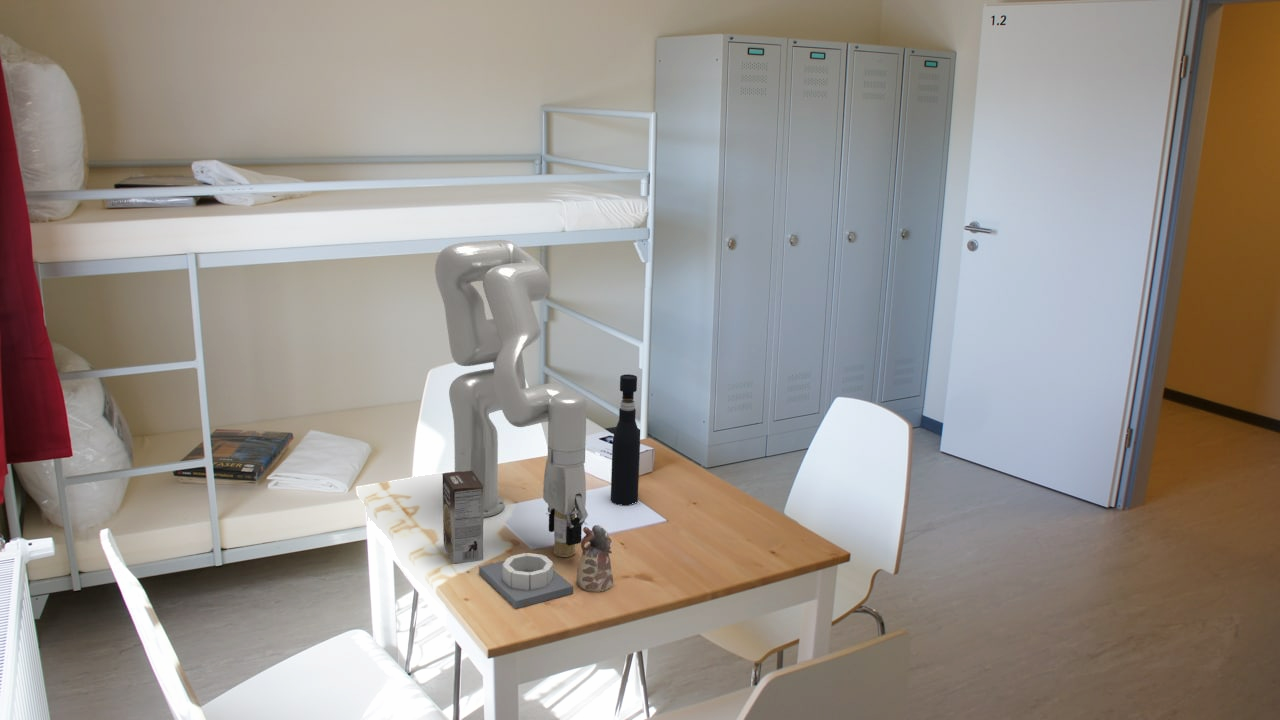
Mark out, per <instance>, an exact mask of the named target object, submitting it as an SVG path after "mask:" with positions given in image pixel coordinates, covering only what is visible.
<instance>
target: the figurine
mask: <svg viewBox="0 0 1280 720" xmlns="http://www.w3.org/2000/svg"><path fill="white" fill-rule="evenodd" d="M582 532H584V534H585V536H583V538H581V543H580V548H581V554H580V557H579V560H578V565H577V571H576V583H577V585H578V586H577V587H579V588H580V589H582V590H584V591H587V592H591V591H592V592H593V593H594V592H595V593H600V591H602V592H605V591H608V590H609V589H610V588H611V587H614V576H613V571H612V564H611V558H610V554H612V553H613V550H612V549H611V543H612V542H613V541H612V539H611V537H610V536H609V533H608V531H607V530H606V529H605V528H604V527H603V526H601V525H599V524H596V525H593V526H592V527H591V529H590V528H589V527H588V526H584V527H583V528H582ZM588 542H589V543H588ZM587 543H588V544H587ZM586 544H587V545H586ZM608 588H609V589H608ZM604 590H605V591H604Z"/></svg>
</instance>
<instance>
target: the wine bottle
mask: <svg viewBox="0 0 1280 720" xmlns="http://www.w3.org/2000/svg"><path fill="white" fill-rule="evenodd" d="M637 389H638V376H637V375H634V374H622V375H620V377H619V391H620V392H622V397H621V398H622V400H621V401H620V408H619V409H618V412H619V413H618V421H617V424H616V427H615V430H614V431H613V438H612V446H611V447H612V448H611V449H612V451H611V474H610V475H611V479H610V502H611V503H613V504H614V503H616V504H615V505H618V504H622V505H621V506H630V505H629V504H632V503H635V502H637V503H638V502H639V483H640V482H639V480H640V477H639V476H640V454H641V440H640V439H641V438H640V432H639V428H638V425H637V421H636V414H637V413H636V410H637V409H636V408H635V407H636V406H635V405H636V402H635V401H634V395H635V394H634V393H636V392H638V391H637ZM635 504H636V503H635ZM632 505H633V504H632Z"/></svg>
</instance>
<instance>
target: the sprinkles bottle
mask: <svg viewBox="0 0 1280 720" xmlns="http://www.w3.org/2000/svg"><path fill="white" fill-rule="evenodd" d="M572 511H576V508H573V510H572ZM576 517H577V516H576V514H572V519H573V520H574V519H575V518H576ZM568 526H569V525H568V520H567V515H563V514H561V513H560V512H558V511H557V510H555V515H554V532H553V533H554V534H553V535H554V536H553V538H554V539H553V540H554V544H553V545H554V549H553V553H554V556H557V557H560V558H569V557H570V558H571V557H572V556H574V555H575V554H576V544H574V545H570V546H568V545H567V544H566V529H567V527H568Z"/></svg>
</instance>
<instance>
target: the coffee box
mask: <svg viewBox="0 0 1280 720" xmlns="http://www.w3.org/2000/svg"><path fill="white" fill-rule="evenodd" d="M441 475H442V515H443V516H442V517H443V518H442V519H443V520H442V521H443V522H442V525H443V526H442V527H443V530H442V531H443V546H444V548H445V551H446V553H447V554H448V556H449V558H450V559H451V560H450V561H451V562H452V564H456V565H457V564H461V563H467V562H468V563H469V562H477V561H478V562H479V561H483V559H484V548H483V547H484V517H483V485H482V483H481V482H480V481H479V479H478V478H477V477H476V475H475V474H474V472H473V471H464V472H462V471H460V472H455V471H450V472H444V473H441Z"/></svg>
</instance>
